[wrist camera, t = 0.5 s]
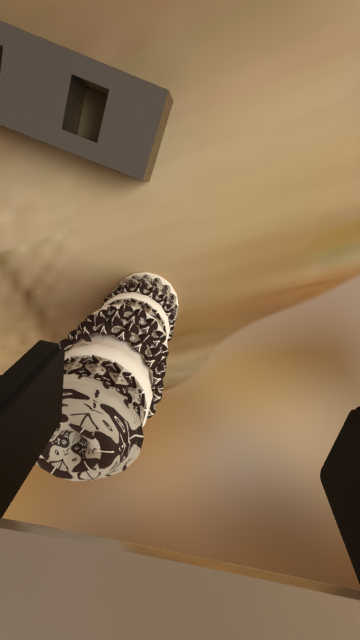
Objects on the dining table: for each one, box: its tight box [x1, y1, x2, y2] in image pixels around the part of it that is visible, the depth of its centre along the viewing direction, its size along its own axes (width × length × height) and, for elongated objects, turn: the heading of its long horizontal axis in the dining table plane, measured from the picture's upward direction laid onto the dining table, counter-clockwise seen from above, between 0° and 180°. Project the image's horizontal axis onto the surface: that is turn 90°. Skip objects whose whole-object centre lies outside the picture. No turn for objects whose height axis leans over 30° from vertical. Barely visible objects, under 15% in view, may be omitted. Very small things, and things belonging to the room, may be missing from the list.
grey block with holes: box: [0, 21, 173, 181], centre depth 32 cm, size 8×24×4 cm, turn 70°
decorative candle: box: [36, 272, 179, 481], centre depth 30 cm, size 9×9×25 cm
